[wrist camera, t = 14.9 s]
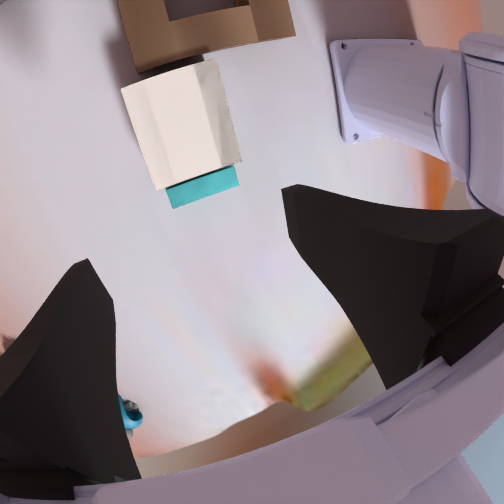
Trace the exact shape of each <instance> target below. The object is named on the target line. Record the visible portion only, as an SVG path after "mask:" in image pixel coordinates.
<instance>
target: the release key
mask: <svg viewBox="0 0 504 504" xmlns="http://www.w3.org/2000/svg"><path fill="white" fill-rule="evenodd" d="M236 186H239V182H238V179H237V175H236V171H235V167H234V166H233V164H231V165H228V166H225V167H222V168H219V169H216V170H213V171H210V172H207V173H204V174H202V175H199V176H196V177H193V178H190V179H187V180H185V181H182V182H179V183H176V184H174V185H171V186H168V187H166V192H167V195H168V197H169V200H170V203H171V205H172V208H173V209H174V208H177V207H179V206H182V205H185V204H188V203H190V202H193V201H196V200H198V199H201V198H204V197H207V196H210V195H213V194H215V193H218V192H221V191H224V190H227V189H230V188H233V187H236Z"/></svg>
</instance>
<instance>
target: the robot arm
mask: <svg viewBox="0 0 504 504" xmlns="http://www.w3.org/2000/svg"><path fill="white" fill-rule="evenodd" d="M341 44H343V45H344V49H342V48H341ZM410 44H411V45H410ZM459 47H460V50H455V49H448V48H440V47H430V46H424V45H423V43H422V42H421V41H420V40H407V39H348V40H334V41H332V42H330V52H331V58H332V64H333V70H334V76H335V82H336V89H337V96H338V103H339V111H340V118H341V127H342V136H343V141H344V142H345V143H348V144H353V143H357V142H361V141H365V140H369V139H373V138H377V137H382V136H387V137H390V138H392V139H395V140H397V141H400V142H402V143H405V144H407V145H409V146H412V147H414V148H416V149H419V150H421V151H423V152H425V153H428V154H430V155H432V156H434V157H436V158H438V159H441V160H443V161H445V162H447V163H449V164H450V166H451V171H452V177H453V178H455V179H457V180H459V181H461V182H463V183H465V184H466V196H467V199H468V202H469V204H470V205H471V207H472V208H473V209H471V210H426V209H415V208H404V207H396V206H390V205H384V204H378V203H373V202H368V201H364V200H359V199H355V198H351V197H347V196H343V195H339V194H336V193H332V192H329V191H325V190H321V189H318V188H314V187H310V186H305V185H299V184H296V185H293V186H290V187H286V188H283V189H281V191H282V197H283V203H284V209H285V215H286V221H287V227H288V234H289V238H290V239H291V241H292V243H293V245H294V246H295V248H296V249H297V251H298V253H299V254H300V256H301V257H302V259H303V260H304V261H305V262H306V263H307V265H308V266H309V267H310V268H311V270H312V271H313V272H314V273H315V274H316V276H317V277H318V278H319V279H320V280H321V282H322V283H323V284H324V285H325V286H326V288H327V289H328V290H329V291H330V293H331V294H332V295H333V296H334V298H335V299H336V300H337V302H338V303H339V304H340V306H341V307H342V309H343V310H344V312H345V314H346V315H347V317H348V318H349V320H350V322H351V323H352V325H353V327H354V328H355V330H356V332H357V333H358V335H359V337H360V339H361V340H362V342H363V344H364V346H365V348H366V349H367V351H368V353H369V355H370V357H371V359H372V361H373V363H374V365H375V367H376V368H377V370H378V373H379V375H380V377H381V379H382V381H383V383H384V386H385V388H386V391H385V392H383V393H381V394H379V395H378V396H376V397H374V398H372V399H370V400H368V401H367V402H365V403H363V404H361V405H359V406H357V407H355V408H353V409H351V410H350V411H347V412H345V413H343V414H341V415H339V416H337V417H335V418H333V419H331V420H329V421H327V422H325V423H323V424H320V425H318V426H316V427H314V428H311V429H309V430H307V431H304V432H301V433H299V434H296V435H294V436H292V437H289V438H287V439H284V440H281V441H279V442H277V443H274V444H271V445H268V446H266V447H263V448H260V449H257V450H254V451H251V452H248V453H245V454H242V455H239V456H236V457H233V458H229V459H226V460H223V461H219V462H216V463H212V464H208V465H204V466H201V467H197V468H193V469H188V470H184V471H180V472H176V473H171V474H166V475H160V476H155V477H150V478H144V479H142V478H141V475H140V473H139V470H138V467H137V465H136V462H135V459H134V457H133V454H132V450H131V447H130V444H129V440H128V437H127V434H126V430H125V426H124V421H123V417H122V413H121V408H120V402H119V397H118V391H117V382H116V322H115V312H114V304H113V299H112V298H111V296H110V295H109V293H108V291H107V290H106V288H105V286H104V285H103V283H102V282H101V280H100V278H99V277H98V275H97V273H96V271H95V270H94V268H93V266H92V265H91V263H90V261H89V259H88V258H87V259H85V260H82V261H80V262H78V263H75V264H73V265H72V266H71V267H70V268H69V270H68V271H67V272H66V273H65V274H64V276H63V277H62V278H61V280H60V281H59V282H58V284H57V285H56V286H55V288H54V289H53V291H52V292H51V293H50V295H49V296H48V298H47V299H46V300H45V302H44V303H43V305H42V306H41V307H40V309H39V310H38V311H37V313H36V314H35V316H34V317H33V318H32V320H31V321H30V322H29V324H28V325H27V326H26V328H25V329H24V330H23V332H22V333H21V334H20V335H19V336H18V338H17V339H16V340H15V341H14V342H13V344H12V345H11V346H10V347H9V348H8V349H7V350H6V351H5V352H4V354H3V355H2V356H1V357H0V504H493V502H492V501H491V499H490V498H489V496H488V495H487V493H486V491H485V490H484V488H483V487H482V485H481V483H480V482H479V481H478V479H477V477H476V476H475V474H474V473H473V471H472V470H471V468H470V467H469V465H468V464H467V462H466V461H465V459H464V458H463V456H462V455H461V451H463V450H464V449H465V448H466V447H468V446H469V445H470V444H471V443H472V442H473V441H475V440H476V439H477V438H478V437H479V436H480V435H481V434H482V433H483V432H484V431H485V430H487V429H488V428H489V427H490V426H491V425H492V424H493V423H494V422H495V421H496V420H497V419H498V418H499V417H500V416H501V415H502V414H503V413H504V288H502V286H503V285H504V279H503V278H502V277H501V276H500V275H498V271H499V268H500V265H501V262H502V259H503V256H504V35H501V34H495V33H485V32H468V33H467V34H466V35H465V36H464V38H463V39H460V40H459ZM354 134H356V137H355V138H353V136H354Z"/></svg>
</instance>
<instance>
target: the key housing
mask: <svg viewBox="0 0 504 504" xmlns="http://www.w3.org/2000/svg"><path fill="white" fill-rule="evenodd" d="M121 92H122V95H123V98H124V101H125V104H126V107H127V110H128V113H129V116H130V119H131V122H132V125H133V128H134V131H135V134H136V137H137V140H138V142H139V145H140V148H141V151H142V154H143V156H144V159H145V162H146V165H147V167H148V170H149V173H150V175H151V178H152V181H153V183H154V186H155V188H156V191H158V190H160V189H163V188H166V187H168V186H171V185H174V184H176V183H179V182H182V181H185V180H187V179H190V178H193V177H196V176H199V175H202V174H204V173H207V172H210V171H213V170H216V169H219V168H222V167H225V166H228V165H231V164H234V163H238V162H241V161H242V159H241V155H240V151H239V147H238V142H237V138H236V134H235V130H234V126H233V122H232V118H231V114H230V110H229V107H228V103H227V99H226V95H225V91H224V87H223V83H222V79H221V75H220V71H219V67H218V63H217V60H216V58H215V59H211V60H207V61H203V62H200V63H196V64H192V65H189V66H185V67H182V68H179V69H175V70H172V71H169V72H166V73H163V74H160V75H157V76H154V77H151V78H148V79H145V80H142V81H140V82H137V83H134V84H132V85H129V86H126V87H124V88H121Z"/></svg>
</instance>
